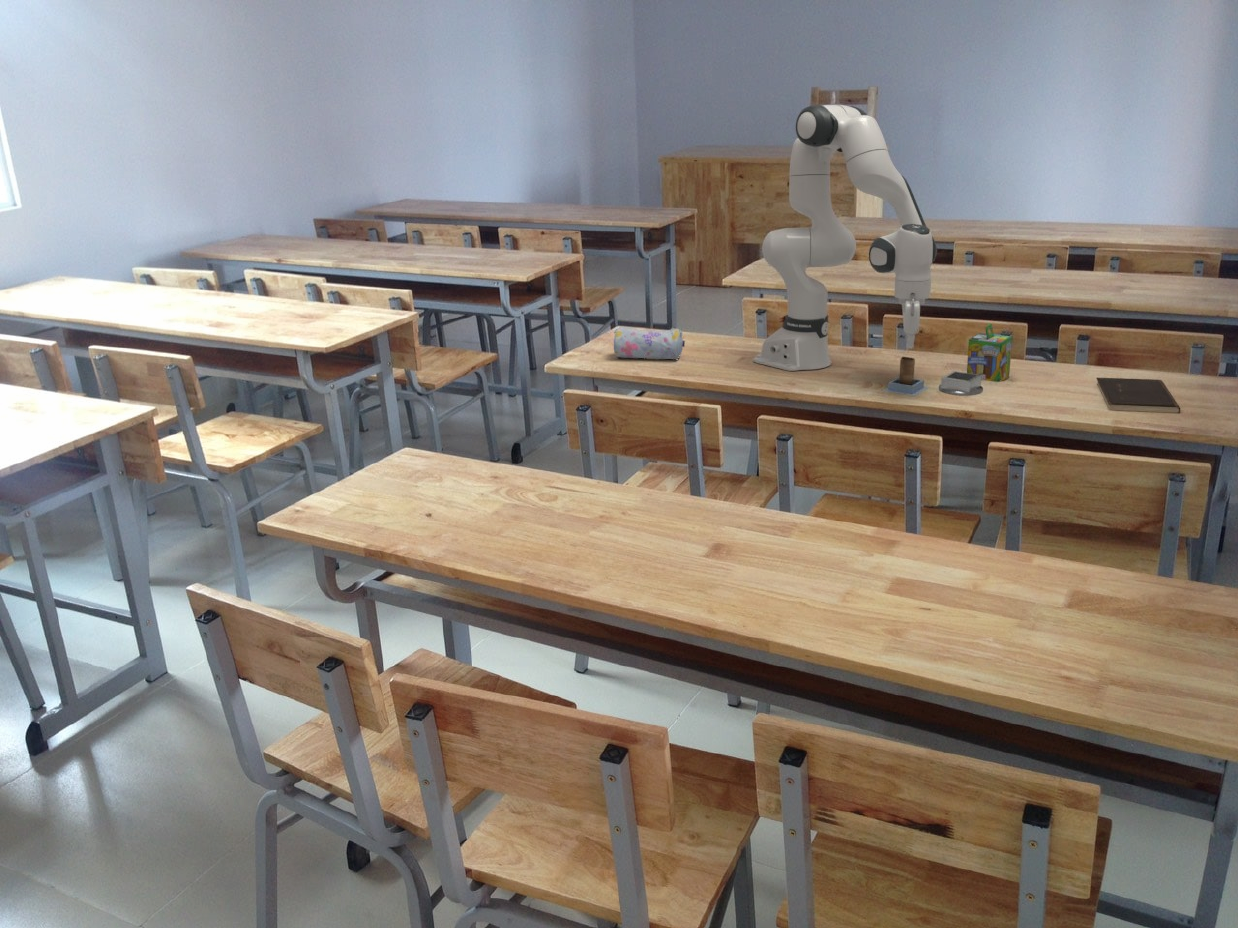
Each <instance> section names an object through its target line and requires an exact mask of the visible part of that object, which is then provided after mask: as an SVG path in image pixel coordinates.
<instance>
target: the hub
mask: <svg viewBox="0 0 1238 928" xmlns="http://www.w3.org/2000/svg"><path fill="white" fill-rule="evenodd" d="M981 378H982V375H979V374H972V373H967V372H965V371H964V372H963V371H957V370H952V371H951V372H949V373H947V374H946V375H944V376H942V377H941V381H940V384H939V385H938V390H939V392H941V393H943V394H947V395H951V396H958V397H959V396H962V397H965V396H966V397H968V396H970V397H971V396H976V395H979V394H982V393H983V392H984V386H982V379H981Z"/></svg>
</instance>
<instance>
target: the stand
mask: <svg viewBox="0 0 1238 928" xmlns="http://www.w3.org/2000/svg"><path fill="white" fill-rule="evenodd" d="M887 383H888V385H887V387H886V388H884V389H882V391H883V392H889V393H894V394H900V395H907V396H912V397H915V396H917V395H919V394H921V393H922V392H924V391H926V390H927V389H929V388H930V387H929V386H925V380H924V379H918V378H914V380H913V385H912V386H910V385H904V384H899V376H898V377H897V378H895V379H892V380H890V381H889V382H887Z"/></svg>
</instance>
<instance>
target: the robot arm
mask: <svg viewBox="0 0 1238 928" xmlns="http://www.w3.org/2000/svg"><path fill="white" fill-rule="evenodd" d="M795 132H796V136H797V138H796V139H795V140H794V142H793V145H792V148H791V153H790V154H791V155H790V163H789V186H788V187H789V188H788V189H789V190H788V192H789V195H788V197H789V198H788V199H789V201H788V202H789V204H790V207H791V208H792V209H793V210H794V211H796V212H797V213H798V214H801V215H803V216H805V217H807V218H809V220H810V221H811V226H809V227H785V228H778V229H776V230H771V231H769V232H768V233H767V234H766V235H765V237H764V239H763V241H762V245H761V247H762V248H761V251H762V256H763V259H764V260H765V262H766V264H768V265H769V266H770V267H772V268H773V269H775V270H776V272H777V273H778V274H779V275H780V277H781V278H782V280H783V282H784V284H785V289H786V294H787V314H785V315H784V316H783V317H781V318H779V322H778V323H782V325H781V327H780V328H779V329H777V330H776V331H775V332H773V333H772V334H771V335H769V336H768V337H767V338H765V340H764V341H763V343H762V346H761V347H762V348H761V353H758V354H756V355H755V356H753V357H754V358H753V362H754V363H757V364H761V365H765V366H768V367H772V368H776V369H780V370H784V371H789V372H795V371H804V370H805V371H809V370H818V369H823V368H827V367H829V366H831V365H832V361H831V358H830V352H829V345H828V344H829V343H828V334H829V315H828V295H829V294H828V293H829V291H828V289H827V287H826V285H825V284H824V283H822V282H821V281H820V280H817V279H815V278H814V277H811V276H809V275H808V274H807V273H806V269H809V268H832V267H833V268H834V267H838V266H841V265H845V264H846V265H847V264H849V263H850V262H851V261H852V259H854V256H855V254H856V250H857V242H856V238H855V235H854V234H853V232H852V231H851V230H850V229H849V228H847V227H846V226H845V225H844V224H843V223H842V222H841V221H840V220H839V219H838V217H837V216H836V213H835V212H834V208H833V204H832V197H831V196H832V195H831V158H832V155H833V154H834V153H835V152H836V151H837V152H839V153H843V157H844V162H845V165H846V171H847V174H848V177H849V180H850V182H851V184H852V185H853V187H854V188H856V189H857V190H859V191H861V192H862V193H864V194H866V195H871V196H874V197H877V198H879V199H882V200H884V201H885V202H887V203H888V204H889V205H890V206H891V207H892V209H893V210H894V212H895V215H896V217H897V219H898V222H899V224H900V227H899V228H898V229H897V230H896V231H893V232H892V233H890V234H886V235H883V236H880V237H876V238H875V239H873V241H872V243H871V244H870V247H869V250H868V260H869V264H870V266H871V267H872V269H873V270H874V271H876V272H877V273H879V274H880V273H881V274H893V273H894V274H895V278H894V293H893V294H894V295H893V296H894V298H895V299H898V303H899V304H900V305H901V309H902V320H903V321H902V322H903V333H904V334H905V339H906V344H905V345H906V349H911V350H913V348H915V339H916V334H918V333H919V331H920V317H921V315H920V314H921V306H923V305H924V304H925V302H926V301H925V300H927V299H930V297H931V288H932V286H931V285H932V275H931V266H932V265H933V263H934V262H935V260H936V257H937V253H938V247H937V243H936V240H935V238H934V237H933V235H932V232H931V229H930V228H929V227H927V225H926V223H925V221H924V217H923V216H922V213H921V210H920V208H919V206H918V203H917V200H916V198H915V196H914V193H913V191H912V188H911V186H910V184H909V183H908V180H907V179H906V178H905V176H903V175H902V174H901V173H900V172H899V171H898V169H897V168H896V166H895V165H894V163H893V161H892V159H891V156H890V153H889V149H888V146H887V143H886V140H885V137H884V135H883V132H882V130H881V128H880V126H879V124H878V122H877V120H876V119H875V118H874V117H873V116H870V115H868V114H867V113H866V112H865V111H864V110H863V109H861V108H860V107H856V106H853V105H851V106H850V105H844V104H824V105H821V104H813V105H809V106H807V107H804V108H802V110H800V112H799V114H798V115H797V118H796V121H795Z"/></svg>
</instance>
